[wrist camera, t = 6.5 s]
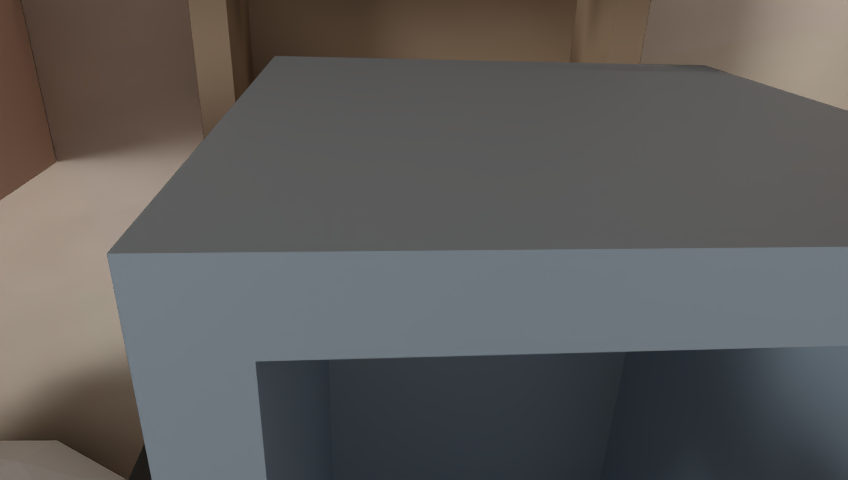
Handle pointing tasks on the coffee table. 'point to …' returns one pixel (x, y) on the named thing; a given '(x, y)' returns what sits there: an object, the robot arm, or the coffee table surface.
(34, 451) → the geometric orb
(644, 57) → the coffee table surface
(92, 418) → the coffee table surface
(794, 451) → the blue-grey hollow box
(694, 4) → the coffee table surface
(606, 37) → the walnut crate
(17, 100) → the terracotta crate
